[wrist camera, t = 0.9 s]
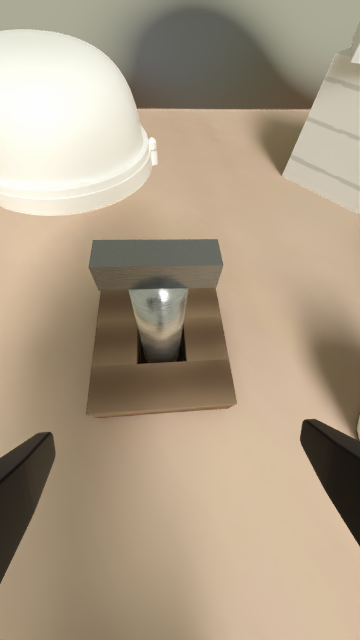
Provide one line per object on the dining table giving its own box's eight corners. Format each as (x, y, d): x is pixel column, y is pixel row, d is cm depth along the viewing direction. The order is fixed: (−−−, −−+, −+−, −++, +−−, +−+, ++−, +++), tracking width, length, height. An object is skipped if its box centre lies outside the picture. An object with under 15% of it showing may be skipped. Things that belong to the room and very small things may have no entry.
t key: (193, 366, 22) (226, 279, 10) (130, 369, 22) (86, 282, 10) (190, 334, 24) (215, 227, 12) (131, 336, 24) (95, 227, 12)
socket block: (228, 408, 21) (236, 403, 18) (96, 417, 20) (85, 414, 17) (210, 301, 26) (215, 286, 24) (107, 304, 25) (101, 288, 23)
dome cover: (-67, 217, 31) (-221, 70, 19) (-1, 122, 45) (-63, 3, 33) (161, 216, 34) (158, 88, 21) (155, 127, 48) (152, 19, 36)
